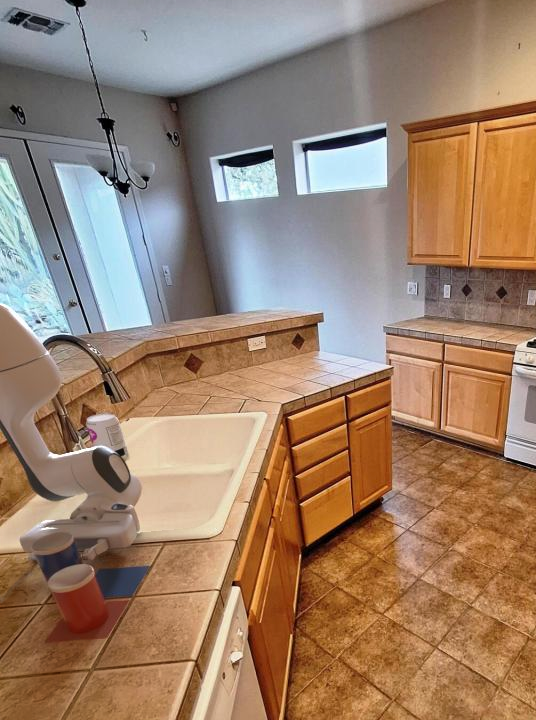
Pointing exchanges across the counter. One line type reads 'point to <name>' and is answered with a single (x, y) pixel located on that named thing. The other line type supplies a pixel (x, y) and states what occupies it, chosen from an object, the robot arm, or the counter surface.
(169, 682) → the counter surface
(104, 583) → the slate-blue mat
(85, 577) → the red tumbler
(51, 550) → the blue tumbler
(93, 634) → the terracotta mat
